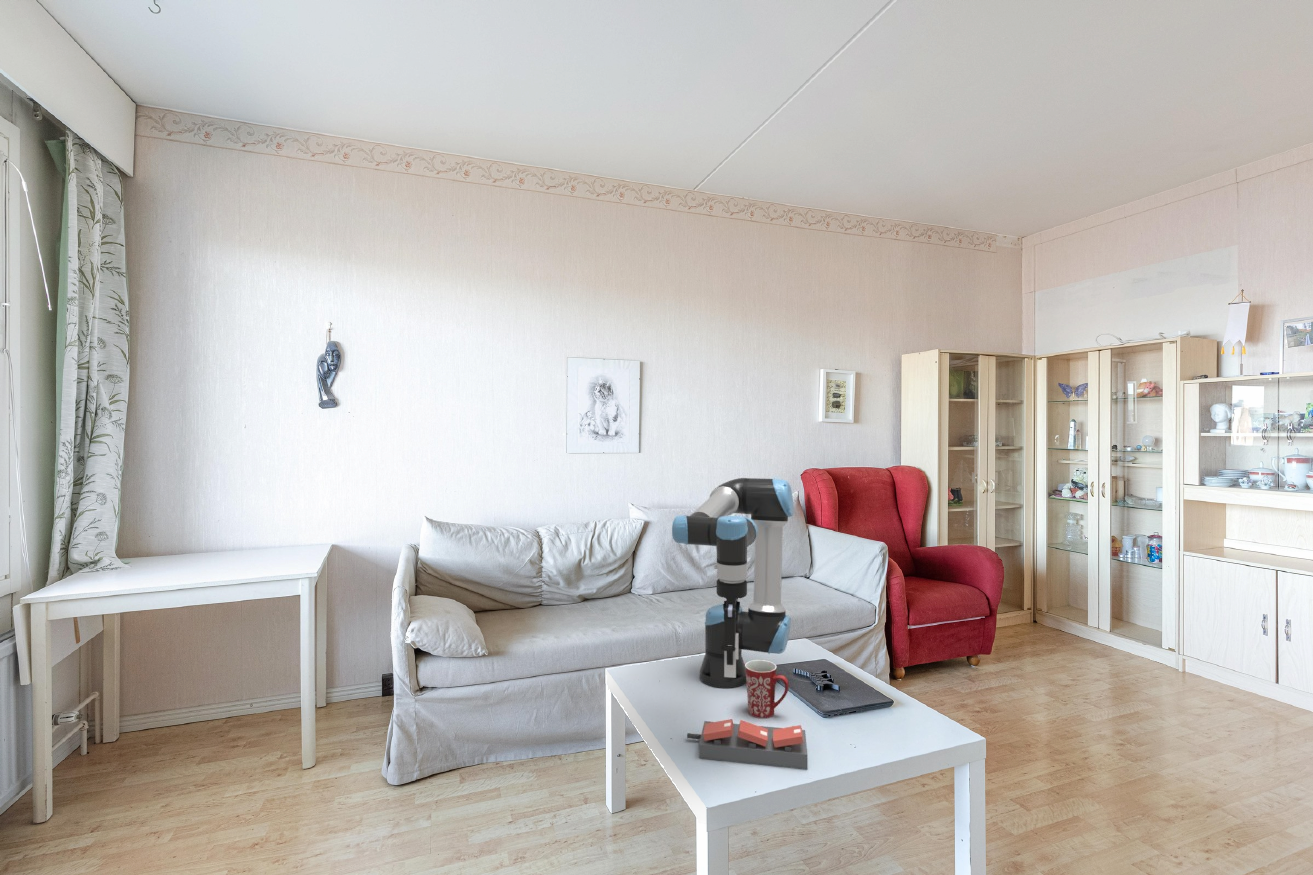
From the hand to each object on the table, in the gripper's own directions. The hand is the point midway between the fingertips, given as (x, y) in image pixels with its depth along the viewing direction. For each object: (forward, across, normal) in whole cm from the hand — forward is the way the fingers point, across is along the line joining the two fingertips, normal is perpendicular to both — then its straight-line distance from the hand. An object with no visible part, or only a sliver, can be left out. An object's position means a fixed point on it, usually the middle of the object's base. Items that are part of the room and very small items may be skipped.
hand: (731, 667), depth 155 cm
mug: (+22, -23, +8) cm, 33 cm away
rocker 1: (+16, 0, -3) cm, 16 cm away
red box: (+16, 0, +5) cm, 17 cm away
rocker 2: (+16, 0, +14) cm, 21 cm away
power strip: (+22, -2, +3) cm, 22 cm away
